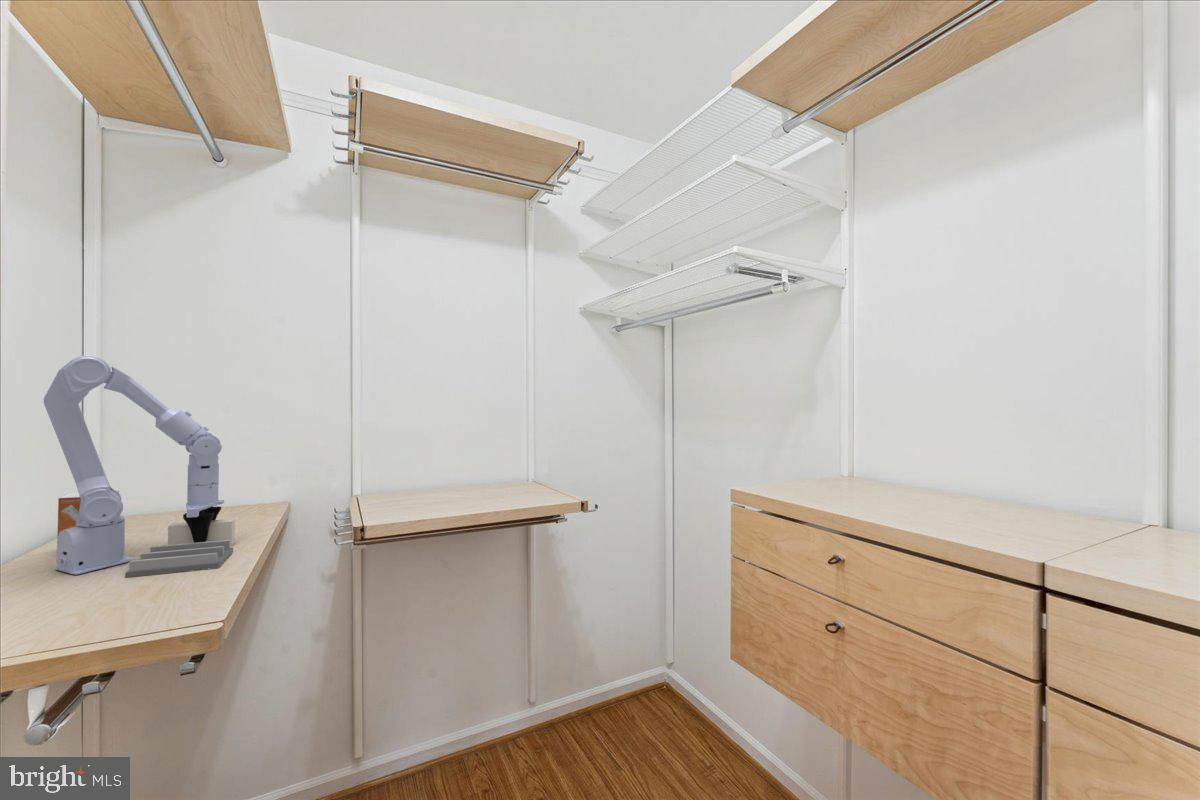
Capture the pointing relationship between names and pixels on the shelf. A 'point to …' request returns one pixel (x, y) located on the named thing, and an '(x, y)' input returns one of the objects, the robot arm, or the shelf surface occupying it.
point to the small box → (68, 511)
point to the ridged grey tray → (180, 558)
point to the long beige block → (217, 532)
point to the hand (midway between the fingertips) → (202, 540)
